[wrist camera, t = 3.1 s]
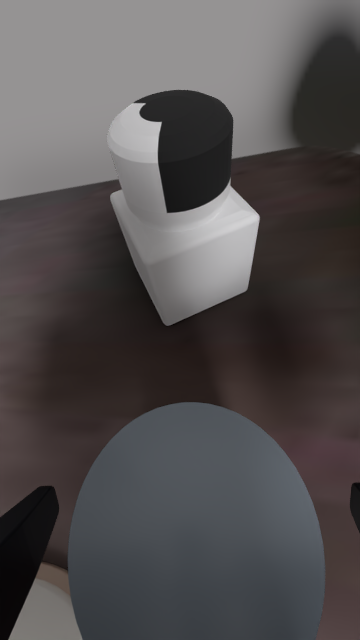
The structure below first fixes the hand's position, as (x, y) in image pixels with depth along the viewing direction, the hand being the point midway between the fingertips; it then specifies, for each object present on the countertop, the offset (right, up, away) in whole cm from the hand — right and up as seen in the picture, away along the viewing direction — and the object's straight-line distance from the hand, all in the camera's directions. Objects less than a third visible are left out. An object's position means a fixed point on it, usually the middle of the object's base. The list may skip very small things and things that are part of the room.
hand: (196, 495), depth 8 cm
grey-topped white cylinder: (+1, -4, +6) cm, 8 cm away
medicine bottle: (0, +9, +14) cm, 17 cm away
